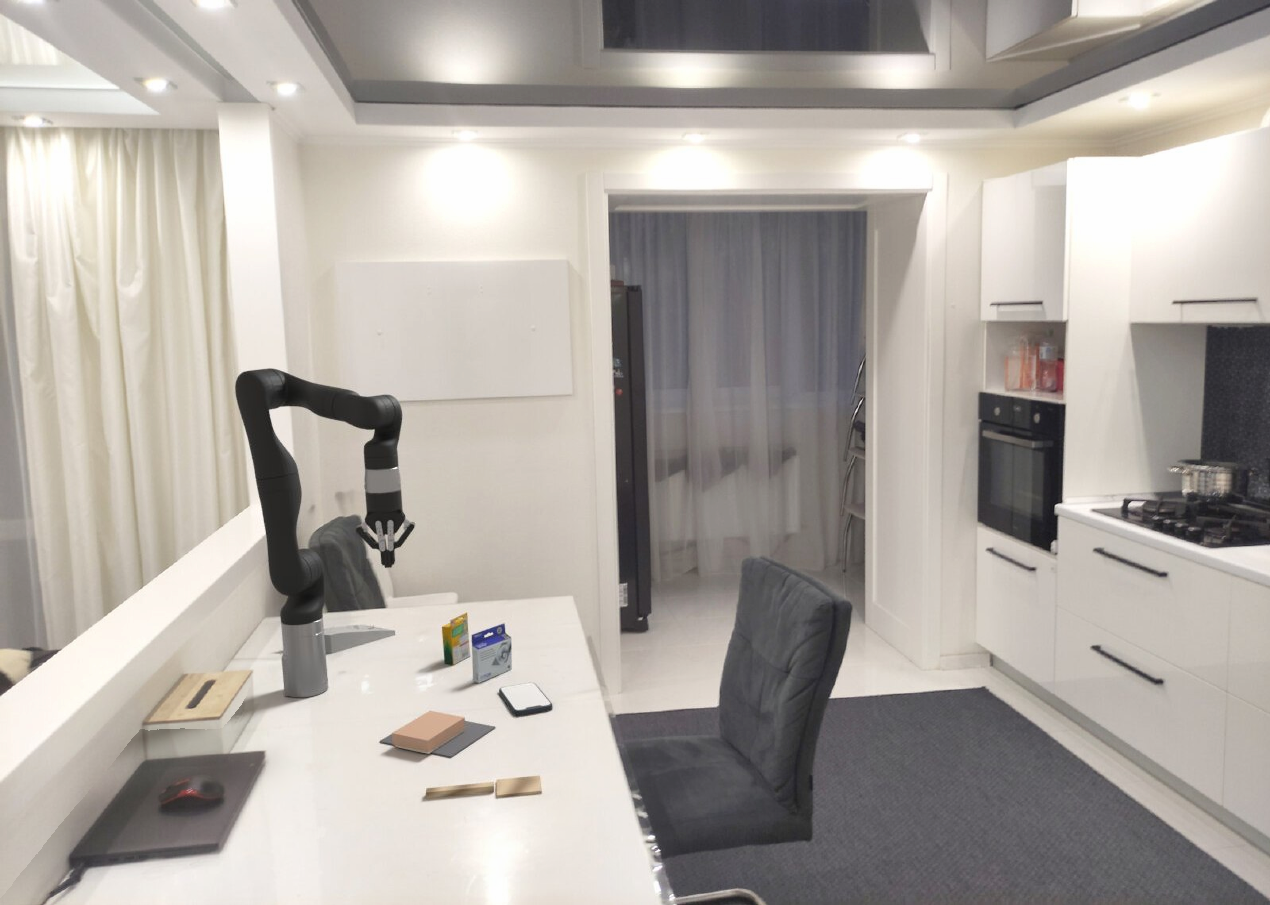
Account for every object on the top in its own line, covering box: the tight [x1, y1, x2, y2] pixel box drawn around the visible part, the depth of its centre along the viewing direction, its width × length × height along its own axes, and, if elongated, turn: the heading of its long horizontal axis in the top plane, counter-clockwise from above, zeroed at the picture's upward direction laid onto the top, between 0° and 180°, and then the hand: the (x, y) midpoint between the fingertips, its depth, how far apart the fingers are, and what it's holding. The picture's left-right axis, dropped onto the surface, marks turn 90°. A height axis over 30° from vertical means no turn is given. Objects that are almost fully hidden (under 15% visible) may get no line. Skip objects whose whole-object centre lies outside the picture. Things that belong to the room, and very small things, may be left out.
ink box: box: [471, 622, 513, 684], centre depth 231 cm, size 12×2×12 cm, turn 143°
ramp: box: [324, 624, 396, 655], centre depth 260 cm, size 28×16×5 cm, turn 114°
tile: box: [391, 710, 466, 755], centre depth 197 cm, size 9×3×12 cm
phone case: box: [498, 682, 553, 717], centre depth 216 cm, size 9×2×16 cm
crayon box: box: [441, 612, 471, 666], centre depth 243 cm, size 7×3×12 cm, turn 154°
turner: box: [425, 775, 543, 800], centre depth 175 cm, size 20×6×1 cm, turn 98°
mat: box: [379, 720, 496, 758], centre depth 199 cm, size 18×15×1 cm
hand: (388, 566), depth 210 cm, fingers closed
